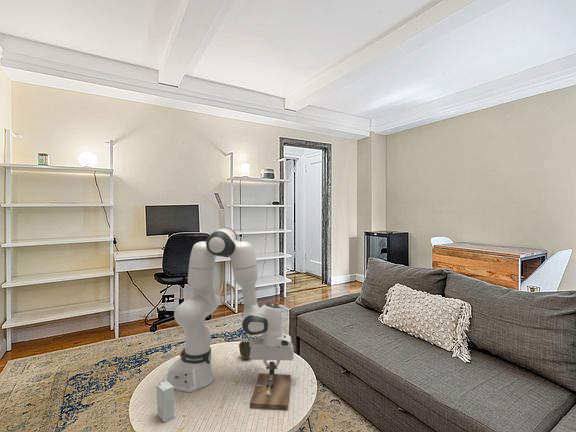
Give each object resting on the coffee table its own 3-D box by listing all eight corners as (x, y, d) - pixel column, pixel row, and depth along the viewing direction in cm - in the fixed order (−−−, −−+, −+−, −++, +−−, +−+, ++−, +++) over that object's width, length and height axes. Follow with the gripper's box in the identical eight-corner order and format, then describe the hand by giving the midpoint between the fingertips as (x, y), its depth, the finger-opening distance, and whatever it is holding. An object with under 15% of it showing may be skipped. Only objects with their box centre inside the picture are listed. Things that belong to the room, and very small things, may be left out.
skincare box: (175, 417, 117) (175, 386, 117) (163, 423, 114) (163, 391, 114) (167, 409, 121) (167, 379, 121) (156, 415, 118) (156, 384, 118)
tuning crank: (271, 396, 128) (272, 381, 128) (264, 395, 128) (264, 381, 128) (275, 374, 144) (275, 361, 144) (268, 374, 144) (269, 361, 144)
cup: (250, 362, 159) (250, 347, 158) (236, 361, 160) (236, 345, 160) (254, 355, 166) (255, 341, 166) (241, 354, 167) (241, 339, 167)
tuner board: (249, 408, 123) (250, 402, 123) (258, 377, 145) (258, 372, 145) (287, 410, 123) (287, 404, 122) (290, 379, 144) (290, 374, 144)
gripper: (248, 341, 139) (248, 371, 140) (294, 342, 139) (293, 372, 140) (250, 335, 146) (250, 364, 146) (293, 336, 145) (293, 365, 146)
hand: (271, 368), depth 143 cm, fingers open, 2 cm apart
